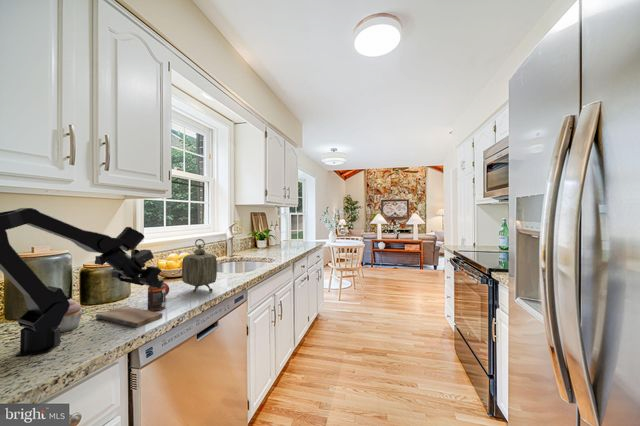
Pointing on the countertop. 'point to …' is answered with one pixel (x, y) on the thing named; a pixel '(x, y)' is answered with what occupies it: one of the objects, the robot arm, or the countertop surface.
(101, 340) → the countertop surface
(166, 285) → the onion
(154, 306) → the supplement bottle
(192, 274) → the tabletop clock
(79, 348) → the countertop surface
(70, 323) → the cupcake
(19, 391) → the countertop surface
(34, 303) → the robot arm
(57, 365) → the countertop surface
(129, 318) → the brown wooden board
